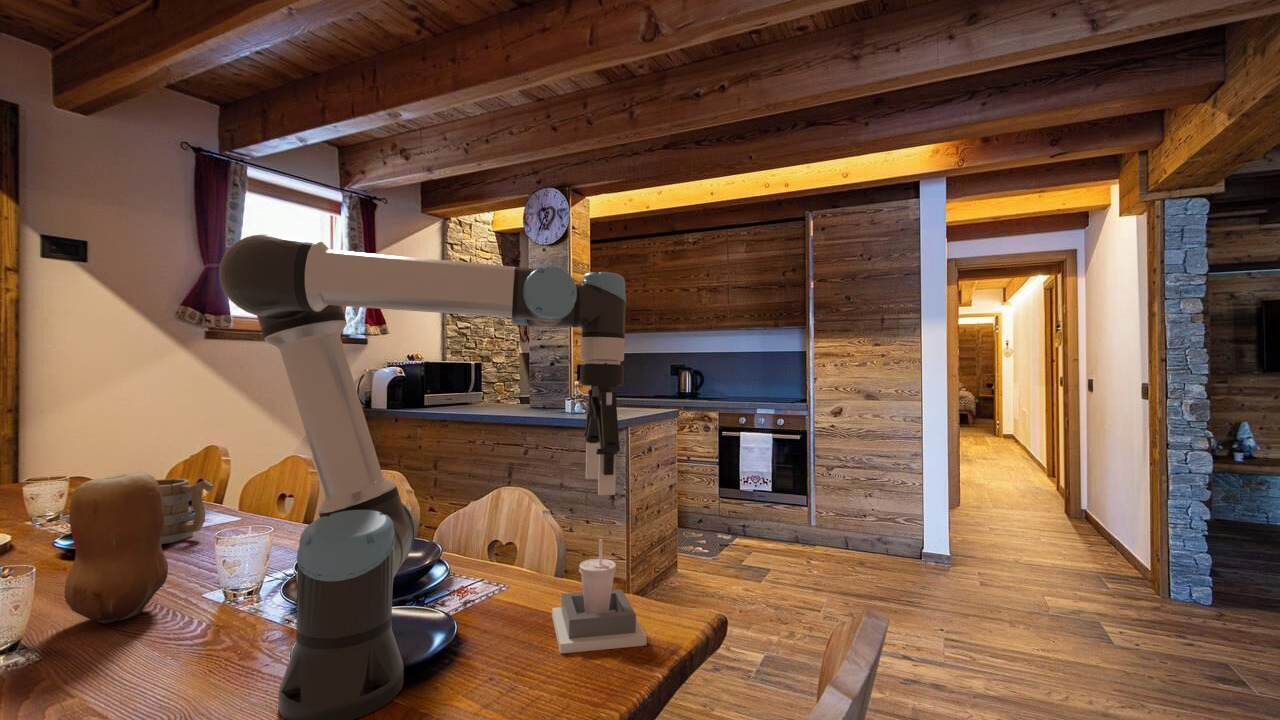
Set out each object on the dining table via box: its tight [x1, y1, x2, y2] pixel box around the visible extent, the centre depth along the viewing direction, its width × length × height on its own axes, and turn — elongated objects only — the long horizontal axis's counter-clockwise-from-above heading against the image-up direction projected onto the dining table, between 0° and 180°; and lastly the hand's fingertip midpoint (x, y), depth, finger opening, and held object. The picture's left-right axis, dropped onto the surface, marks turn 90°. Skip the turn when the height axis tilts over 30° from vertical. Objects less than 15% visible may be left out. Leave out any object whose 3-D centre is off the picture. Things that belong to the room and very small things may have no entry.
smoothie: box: [578, 538, 617, 615], centre depth 100 cm, size 6×6×14 cm
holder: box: [551, 588, 648, 655], centre depth 99 cm, size 14×14×4 cm
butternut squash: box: [64, 471, 169, 625], centre depth 100 cm, size 14×13×25 cm
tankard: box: [156, 478, 215, 545], centre depth 145 cm, size 20×13×15 cm, turn 80°
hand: (599, 486), depth 100 cm, fingers open, 13 cm apart
